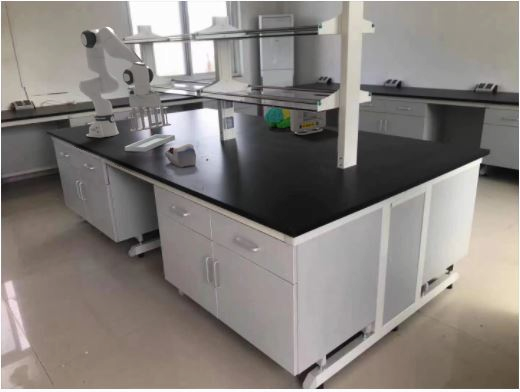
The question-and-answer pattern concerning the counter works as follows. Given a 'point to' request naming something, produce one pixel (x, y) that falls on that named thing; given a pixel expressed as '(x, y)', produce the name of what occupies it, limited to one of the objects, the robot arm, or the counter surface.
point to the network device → (307, 121)
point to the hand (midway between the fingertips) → (146, 114)
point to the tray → (149, 143)
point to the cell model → (182, 155)
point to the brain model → (278, 117)
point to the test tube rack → (148, 118)
